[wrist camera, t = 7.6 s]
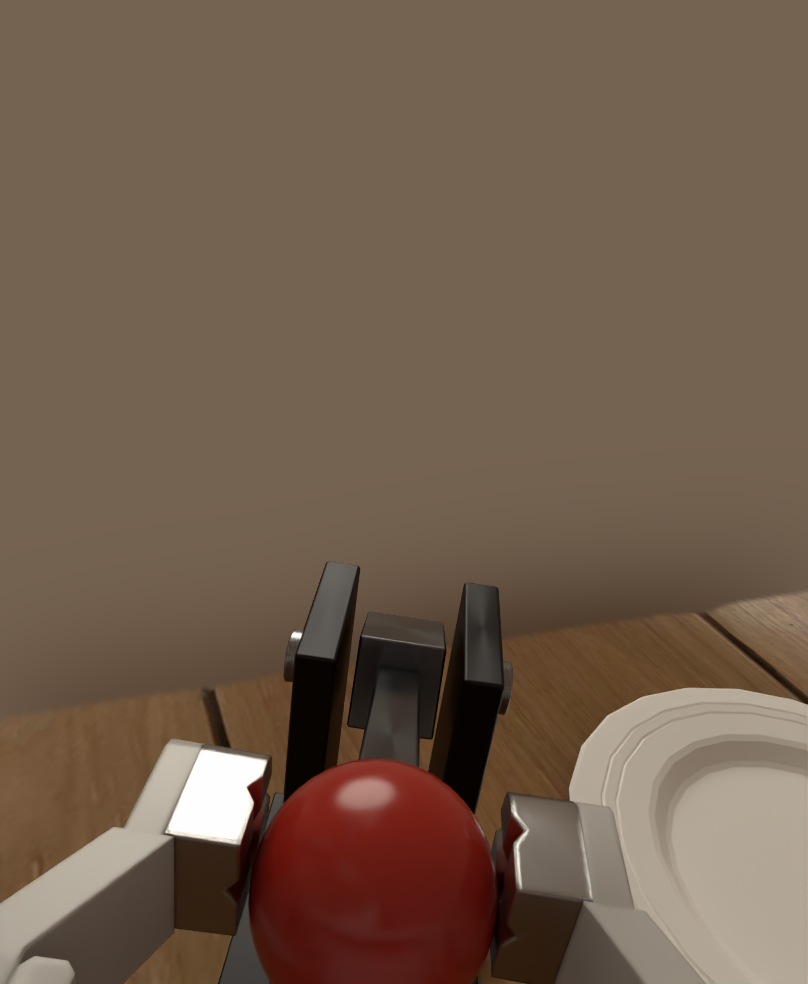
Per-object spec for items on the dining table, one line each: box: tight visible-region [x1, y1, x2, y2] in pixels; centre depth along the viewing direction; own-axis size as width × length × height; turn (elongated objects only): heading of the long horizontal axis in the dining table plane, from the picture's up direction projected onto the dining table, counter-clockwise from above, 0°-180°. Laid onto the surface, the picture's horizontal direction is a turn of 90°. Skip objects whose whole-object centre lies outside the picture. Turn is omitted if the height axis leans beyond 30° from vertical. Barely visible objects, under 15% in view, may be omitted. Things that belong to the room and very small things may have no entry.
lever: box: [248, 612, 498, 984], centre depth 15 cm, size 13×3×3 cm, turn 176°
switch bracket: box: [218, 562, 513, 984], centre depth 23 cm, size 10×8×14 cm
